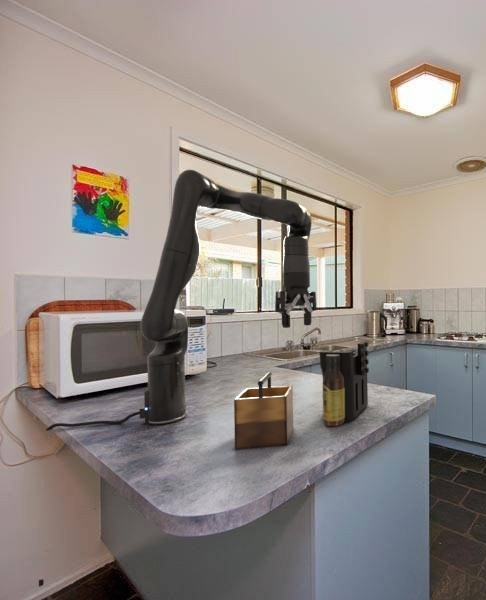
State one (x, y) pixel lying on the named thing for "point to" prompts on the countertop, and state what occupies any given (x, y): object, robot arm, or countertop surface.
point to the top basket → (263, 403)
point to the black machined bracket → (352, 377)
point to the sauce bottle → (333, 392)
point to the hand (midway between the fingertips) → (297, 326)
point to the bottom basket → (263, 433)
